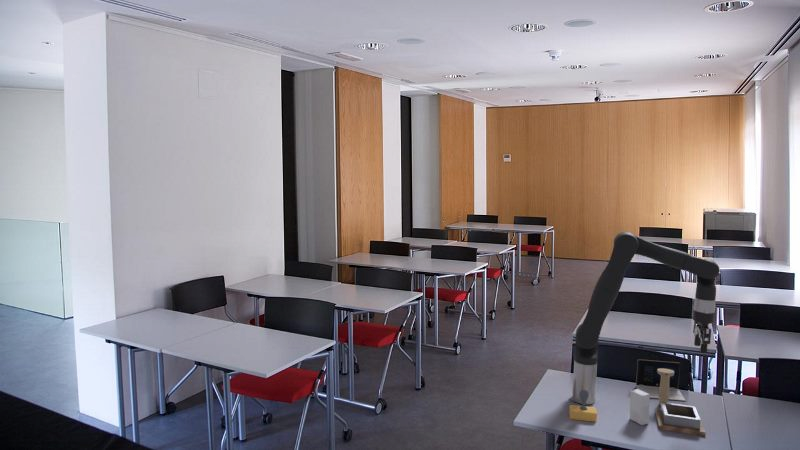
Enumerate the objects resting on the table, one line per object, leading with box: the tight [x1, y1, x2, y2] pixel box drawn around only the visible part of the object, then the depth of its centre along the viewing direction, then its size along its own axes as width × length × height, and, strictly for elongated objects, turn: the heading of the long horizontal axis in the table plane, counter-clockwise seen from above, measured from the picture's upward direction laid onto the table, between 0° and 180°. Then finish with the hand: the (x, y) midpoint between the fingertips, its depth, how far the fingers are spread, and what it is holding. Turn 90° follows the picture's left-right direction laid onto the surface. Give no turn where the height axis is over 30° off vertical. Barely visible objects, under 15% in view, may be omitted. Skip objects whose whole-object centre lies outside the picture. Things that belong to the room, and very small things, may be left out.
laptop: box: [635, 358, 687, 402], centre depth 254 cm, size 18×12×13 cm
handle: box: [657, 368, 674, 406], centre depth 243 cm, size 5×6×15 cm
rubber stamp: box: [568, 389, 598, 423], centre depth 230 cm, size 10×6×12 cm, turn 77°
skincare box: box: [629, 388, 651, 426], centre depth 227 cm, size 6×4×12 cm
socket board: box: [654, 402, 707, 437], centre depth 226 cm, size 16×15×6 cm
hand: (700, 349), depth 230 cm, fingers open, 8 cm apart
